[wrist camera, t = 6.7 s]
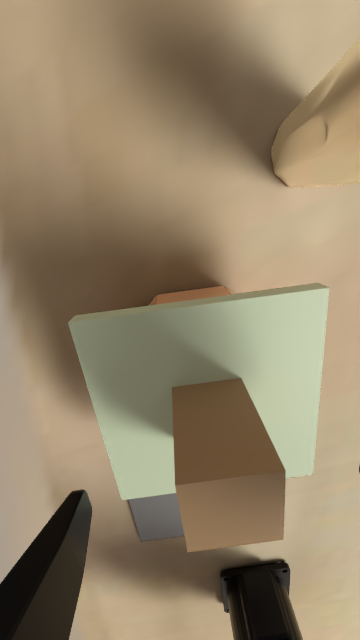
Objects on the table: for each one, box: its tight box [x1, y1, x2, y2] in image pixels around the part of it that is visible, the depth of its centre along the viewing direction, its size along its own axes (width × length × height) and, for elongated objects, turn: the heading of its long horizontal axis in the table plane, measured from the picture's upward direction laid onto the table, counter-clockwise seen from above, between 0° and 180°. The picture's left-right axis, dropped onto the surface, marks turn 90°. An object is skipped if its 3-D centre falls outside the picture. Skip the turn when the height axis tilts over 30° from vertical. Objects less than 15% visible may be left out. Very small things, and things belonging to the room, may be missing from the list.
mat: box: [128, 493, 184, 542], centre depth 20 cm, size 11×11×1 cm
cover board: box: [68, 283, 329, 552], centre depth 10 cm, size 10×10×5 cm
